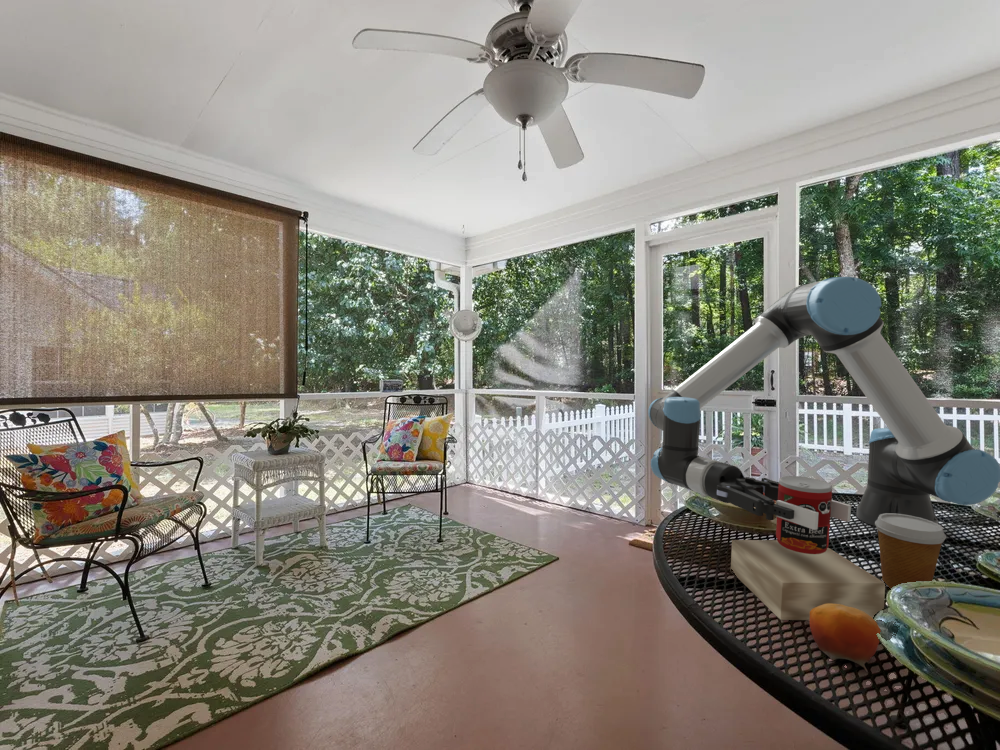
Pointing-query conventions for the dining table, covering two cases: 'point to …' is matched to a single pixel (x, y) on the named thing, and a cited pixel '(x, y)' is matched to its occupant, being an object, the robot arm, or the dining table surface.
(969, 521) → the dining table surface
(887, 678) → the dining table surface
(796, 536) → the canned food
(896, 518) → the disposable coffee cup
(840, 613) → the fruit
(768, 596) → the birch block
